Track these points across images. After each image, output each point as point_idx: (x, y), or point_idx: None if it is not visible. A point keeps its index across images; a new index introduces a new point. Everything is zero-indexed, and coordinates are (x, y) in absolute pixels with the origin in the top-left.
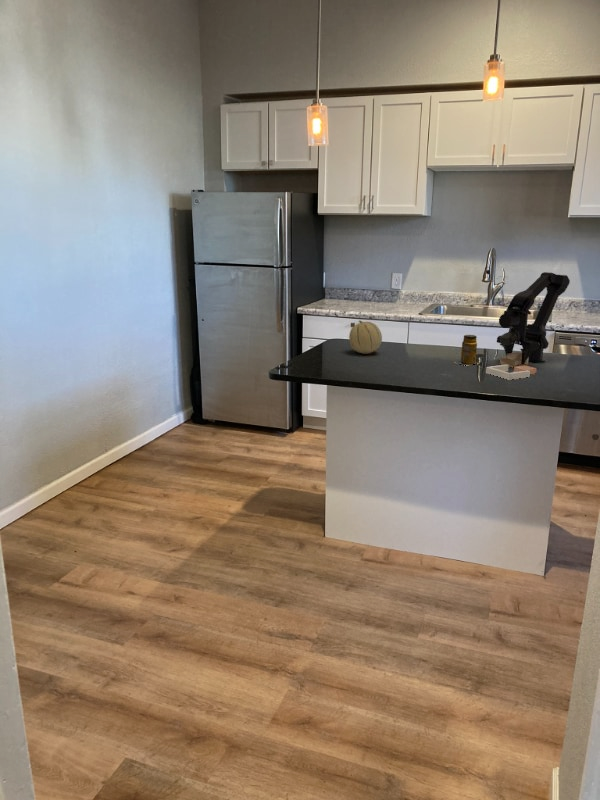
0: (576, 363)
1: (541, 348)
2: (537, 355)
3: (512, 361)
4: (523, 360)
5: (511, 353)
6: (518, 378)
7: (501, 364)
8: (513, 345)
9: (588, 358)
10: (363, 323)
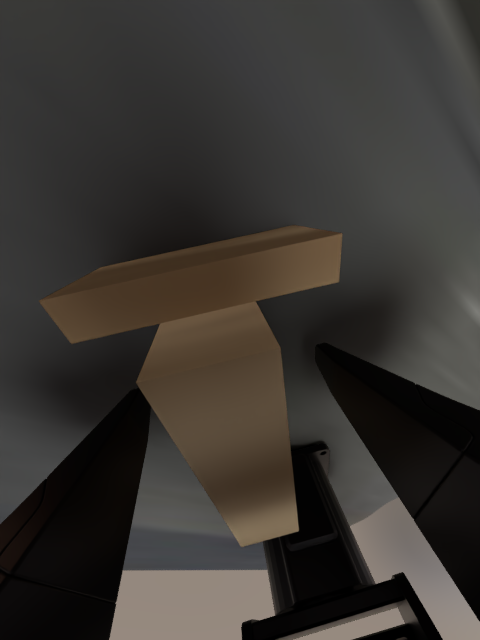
0: (197, 549)
1: (244, 631)
2: None
3: (56, 294)
4: (98, 433)
5: (274, 424)
6: None
7: (272, 231)
8: (466, 589)
9: (254, 565)
10: None
